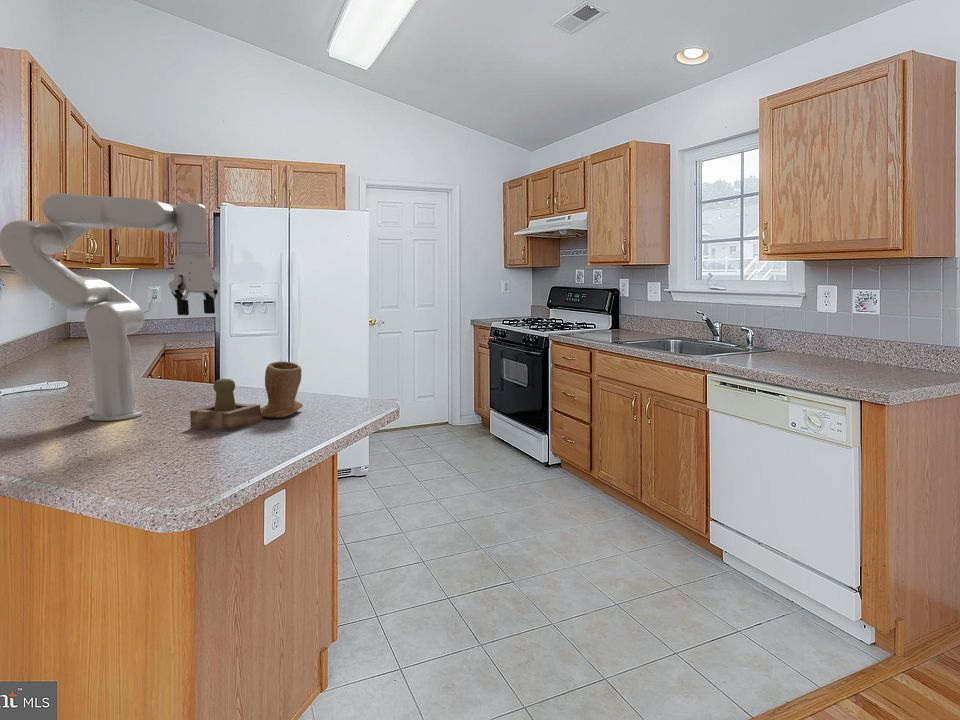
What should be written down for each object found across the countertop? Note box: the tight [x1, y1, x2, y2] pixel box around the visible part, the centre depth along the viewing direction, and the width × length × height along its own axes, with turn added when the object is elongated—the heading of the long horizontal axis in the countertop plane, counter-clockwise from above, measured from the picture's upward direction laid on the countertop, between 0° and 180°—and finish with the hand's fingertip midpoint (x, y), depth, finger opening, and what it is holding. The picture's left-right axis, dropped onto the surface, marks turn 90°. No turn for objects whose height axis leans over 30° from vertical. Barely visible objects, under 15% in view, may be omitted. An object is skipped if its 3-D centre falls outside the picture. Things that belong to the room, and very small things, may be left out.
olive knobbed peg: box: [212, 378, 236, 411], centre depth 160 cm, size 6×6×11 cm
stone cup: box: [260, 360, 303, 418], centre depth 172 cm, size 15×12×15 cm
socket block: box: [189, 402, 262, 433], centre depth 160 cm, size 12×12×4 cm
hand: (196, 314), depth 168 cm, fingers open, 9 cm apart
